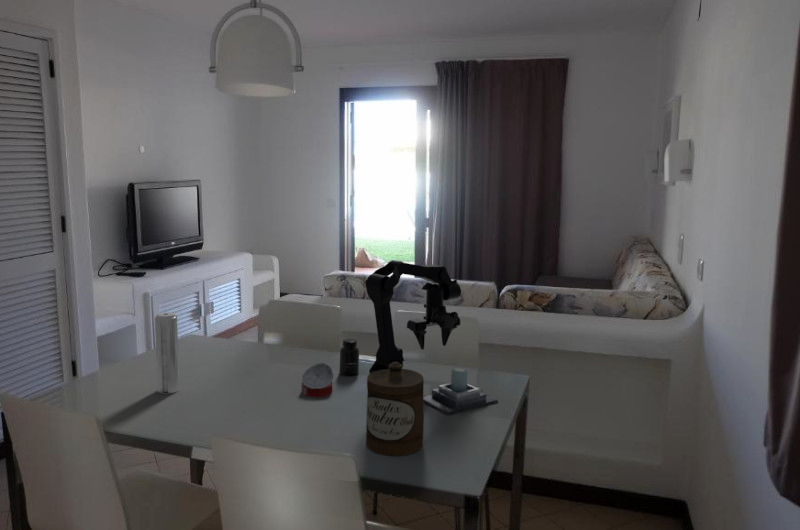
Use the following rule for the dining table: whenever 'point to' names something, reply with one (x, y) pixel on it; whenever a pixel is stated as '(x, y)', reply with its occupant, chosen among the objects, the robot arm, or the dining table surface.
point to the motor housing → (457, 399)
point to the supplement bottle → (349, 358)
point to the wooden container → (395, 411)
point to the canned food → (317, 381)
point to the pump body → (459, 379)
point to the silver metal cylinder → (167, 353)
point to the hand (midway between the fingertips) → (433, 347)
